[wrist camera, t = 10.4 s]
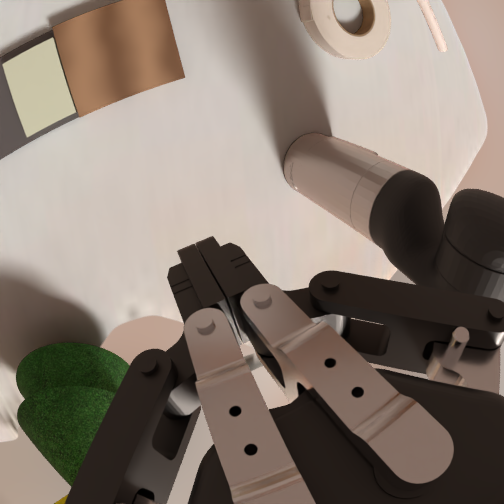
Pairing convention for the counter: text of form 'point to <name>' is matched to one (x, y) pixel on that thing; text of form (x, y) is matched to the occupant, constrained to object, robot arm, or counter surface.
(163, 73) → the board
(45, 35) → the mat
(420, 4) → the marker
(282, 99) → the counter surface
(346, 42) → the roll of tape
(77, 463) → the decorative tree
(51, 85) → the tile
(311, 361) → the robot arm
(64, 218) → the counter surface
